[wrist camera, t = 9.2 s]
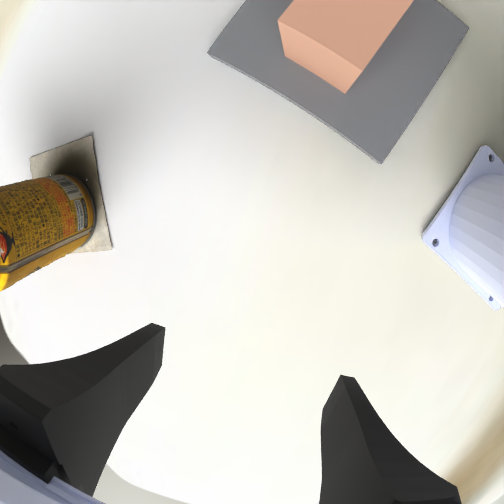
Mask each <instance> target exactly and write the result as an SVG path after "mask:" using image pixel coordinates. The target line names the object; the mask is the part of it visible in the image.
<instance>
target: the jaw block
mask: <svg viewBox="0 0 504 504" xmlns="http://www.w3.org/2000/svg"><path fill="white" fill-rule="evenodd" d="M413 1H414V0H294V1H293V2H292V3H291V4H290V5H289V7H288V8H287V9H286V10H285V12H284V13H283V14H282V15H281V17H280V18H279V19H278V25H279V30H280V35H281V39H282V44H283V49H284V54H285V57H287V58H289V59H291V60H292V61H294V62H296V63H297V64H299V65H301V66H302V67H304V68H306V69H307V70H309V71H311V72H312V73H314V74H315V75H317V76H318V77H320V78H322V79H323V80H325V81H326V82H328V83H329V84H331V85H332V86H334V87H335V88H337V89H338V90H340V91H341V92H343V93H344V94H345V93H346V92H347V91H348V90H349V88H350V87H351V86H352V84H353V83H354V82H355V80H356V79H357V78H358V76H359V75H360V74H361V73H362V71H363V70H364V69H365V67H366V66H367V64H368V63H369V62H370V60H371V59H372V57H373V56H374V55H375V53H376V52H377V50H378V49H379V48H380V46H381V45H382V43H383V42H384V41H385V39H386V38H387V36H388V35H389V34H390V32H391V31H392V30H393V28H394V27H395V25H396V24H397V23H398V21H399V20H400V19H401V17H402V16H403V14H404V13H405V12H406V10H407V9H408V8H409V6H410V5H411V3H412V2H413Z"/></svg>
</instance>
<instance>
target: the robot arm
mask: <svg viewBox="0 0 504 504" xmlns="http://www.w3.org/2000/svg"><path fill="white" fill-rule="evenodd" d="M489 155H491V157H492V160H491V161H489ZM434 239H437V243H436V244H435V245H432V242H433V240H434ZM422 240H423V242H424V243H425V244H426V245H427V246H428V247H429V248H430V249H432V250H433V251H434V252H435V253H436V254H437V255H438V256H439V257H440V258H441V259H443V260H444V261H445V262H446V263H447V264H448V265H449V266H450V267H451V268H452V269H453V270H454V271H455V272H456V273H457V274H459V275H460V276H461V277H462V278H463V279H464V280H465V281H466V282H467V283H468V284H469V285H470V286H471V287H472V288H473V289H474V290H475V291H476V292H477V293H478V294H479V295H480V296H481V297H482V298H483V299H484V300H485V301H486V302H487V303H488V305H489V306H490V307H491V308H492V309H493V310H498V309H499V308H500V307H501V306H502V307H503V308H504V163H503V162H502V161H501V159H500V158H499V157H498V156H497V155H496V154H495V153H494V151H493V150H492V149H491V148H490V147H489V146H486V145H483V146H481V147H480V148H479V150H478V152H477V153H476V155H475V157H474V158H473V160H472V162H471V163H470V165H469V166H468V168H467V170H466V171H465V173H464V174H463V176H462V177H461V179H460V180H459V182H458V184H457V185H456V187H455V188H454V190H453V191H452V193H451V194H450V196H449V197H448V199H447V200H446V201H445V203H444V204H443V206H442V207H441V209H440V210H439V212H438V213H437V214H436V216H435V217H434V219H433V220H432V221H431V223H430V224H429V226H428V227H427V228H426V230H425V231H424V232H423V234H422ZM490 296H492V297H491V298H490V299H489V297H490ZM164 336H165V327H162V326H159V325H156V324H154V323H151V324H149V325H147V326H145V327H143V328H141V329H139V330H137V331H135V332H133V333H131V334H130V335H128V336H126V337H124V338H122V339H120V340H118V341H116V342H114V343H111V344H109V345H107V346H104V347H102V348H100V349H97V350H95V351H92V352H89V353H87V354H83V355H80V356H77V357H73V358H69V359H64V360H60V361H55V362H49V363H41V364H30V365H2V366H1V367H0V504H105V503H103V502H101V501H99V500H97V499H95V498H93V497H92V496H93V493H94V491H95V488H96V486H97V483H98V481H99V478H100V476H101V474H102V471H103V469H104V467H105V464H106V462H107V460H108V458H109V456H110V453H111V451H112V449H113V447H114V445H115V443H116V441H117V439H118V437H119V435H120V433H121V431H122V429H123V427H124V426H125V424H126V422H127V421H128V419H129V418H130V416H131V415H132V413H133V412H134V411H135V409H136V408H137V406H138V405H139V403H140V402H141V400H142V399H143V397H144V396H145V394H146V393H147V392H148V390H149V389H150V387H151V386H152V384H153V382H154V380H155V378H156V376H157V374H158V372H159V370H160V368H161V366H162V357H163V346H164ZM321 456H322V484H321V493H320V501H319V504H461V500H460V496H459V492H458V489H457V487H456V486H454V485H453V484H451V483H449V482H448V481H446V480H444V479H443V478H441V477H439V476H438V475H436V474H435V473H433V472H432V471H431V470H429V469H428V468H427V467H425V466H424V465H423V464H422V463H420V462H419V461H418V460H417V459H416V458H415V457H414V456H413V455H412V454H410V453H409V452H408V451H407V450H406V449H405V448H404V447H403V446H402V444H401V443H400V442H399V441H398V440H397V439H396V438H395V437H394V435H393V434H392V433H391V432H390V431H389V429H388V428H387V427H386V425H385V424H384V423H383V421H382V420H381V418H380V417H379V416H378V414H377V413H376V411H375V410H374V408H373V407H372V405H371V403H370V402H369V400H368V399H367V397H366V395H365V394H364V392H363V390H362V389H361V387H360V386H359V384H358V382H357V381H356V379H355V378H354V377H348V376H343V375H340V377H339V379H338V381H337V383H336V385H335V387H334V389H333V391H332V393H331V394H330V396H329V398H328V400H327V402H326V404H325V406H324V407H323V411H322V420H321Z"/></svg>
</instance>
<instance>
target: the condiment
mask: <svg viewBox="0 0 504 504" xmlns="http://www.w3.org/2000/svg"><path fill="white" fill-rule="evenodd" d="M30 168H31V173H32V179H31V180H26V181H22V182H18V183H14V184H9V185H5V186H1V187H0V291H2V290H4V289H6V288H8V287H10V286H12V285H13V284H15V283H16V282H17V281H19V280H21V279H23V278H24V277H26V276H28V275H30V274H31V273H34V272H35V271H37V270H39V269H41V268H42V267H45V266H47V265H49V264H50V263H52V262H53V261H55V260H57V259H59V258H62V257H64V256H65V255H66V254H71V253H81V252H95V251H106V250H112V247H111V242H110V237H109V232H108V226H107V222H106V215H105V210H104V206H103V200H102V196H101V190H100V187H99V183H98V173H97V165H96V159H95V154H94V150H93V140H92V135H91V136H88V137H85V138H82V139H79V140H77V141H74V142H71V143H68V144H66V145H63V146H60V147H57V148H55V149H52V150H49V151H47V152H44V153H42V154H39V155H36V156H34V157H31V158H30ZM50 174H51V176H49V175H50ZM86 179H87V180H88V181H86Z"/></svg>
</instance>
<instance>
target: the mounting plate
mask: <svg viewBox="0 0 504 504" xmlns="http://www.w3.org/2000/svg"><path fill="white" fill-rule="evenodd" d="M293 1H294V0H246V2H245V3H244V4H243V5H242V6H241V8H240V9H239V10H238V12H237V13H236V14H235V15H234V17H233V18H232V19H231V21H230V22H229V23H228V25H227V26H226V27H225V29H224V30H223V31H222V33H221V34H220V35H219V37H218V38H217V39H216V41H215V42H214V44H213V45H212V46H211V48H210V49H209V51H208V52H207V53H208V54H209V55H210V56H211V57H213V58H215V59H217V60H218V61H220V62H222V63H224V64H226V65H228V66H230V67H232V68H234V69H236V70H237V71H239V72H241V73H243V74H245V75H247V76H248V77H250V78H252V79H254V80H255V81H257V82H259V83H261V84H262V85H264V86H266V87H267V88H269V89H271V90H273V91H274V92H276V93H277V94H279V95H281V96H282V97H284V98H286V99H287V100H289V101H290V102H292V103H294V104H295V105H297V106H298V107H300V108H301V109H303V110H304V111H306V112H308V113H309V114H311V115H312V116H314V117H315V118H317V119H318V120H320V121H321V122H322V123H324V124H325V125H327V126H328V127H330V128H331V129H333V130H334V131H335V132H337V133H338V134H340V135H341V136H342V137H344V138H345V139H347V140H348V141H349V142H351V143H352V144H353V145H355V146H356V147H357V148H359V149H360V150H361V151H363V152H364V153H365V154H367V155H368V156H369V157H370V158H372V159H373V160H374V161H376V162H377V163H380V164H382V163H383V161H384V160H385V158H386V157H387V155H388V154H389V153H390V151H391V150H392V148H393V147H394V145H395V144H396V142H397V141H398V139H399V138H400V137H401V135H402V134H403V132H404V131H405V129H406V128H407V126H408V125H409V123H410V122H411V120H412V119H413V117H414V116H415V114H416V113H417V111H418V110H419V108H420V107H421V105H422V104H423V102H424V100H425V99H426V97H427V96H428V94H429V93H430V91H431V90H432V88H433V86H434V85H435V83H436V82H437V80H438V79H439V77H440V75H441V74H442V72H443V71H444V69H445V67H446V66H447V64H448V63H449V61H450V59H451V58H452V56H453V54H454V53H455V51H456V49H457V48H458V46H459V44H460V43H461V41H462V39H463V38H464V36H465V34H466V33H467V31H468V29H469V27H468V26H467V25H466V24H464V23H463V22H462V21H461V20H460V19H459V18H457V17H456V16H455V15H454V14H453V13H451V12H450V11H449V10H448V9H446V8H445V7H444V6H443V5H441V4H440V3H439V2H437V1H436V0H414V1H413V2H412V3H411V5H410V6H409V8H408V9H407V10H406V12H405V13H404V14H403V16H402V17H401V19H400V20H399V21H398V23H397V24H396V25H395V27H394V28H393V30H392V31H391V32H390V34H389V35H388V36H387V38H386V39H385V41H384V42H383V43H382V45H381V46H380V48H379V49H378V50H377V52H376V53H375V55H374V56H373V57H372V59H371V60H370V62H369V63H368V64H367V66H366V67H365V69H364V70H363V71H362V73H361V74H360V75H359V76H358V78H357V79H356V80H355V82H354V83H353V84H352V86H351V87H350V88H349V90H348V91H347V92H346V93H345V94H344V93H343V92H341V91H340V90H338V89H337V88H335V87H334V86H332V85H331V84H329V83H328V82H326V81H325V80H323V79H322V78H320V77H318V76H317V75H315V74H314V73H312V72H311V71H309V70H307V69H306V68H304V67H302V66H301V65H299V64H297V63H296V62H294V61H292V60H291V59H289V58H287V57H285V54H284V49H283V44H282V39H281V35H280V30H279V25H278V19H279V18H280V17H281V15H282V14H283V13H284V12H285V10H286V9H287V8H288V7H289V5H290V4H291V3H292V2H293Z"/></svg>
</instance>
